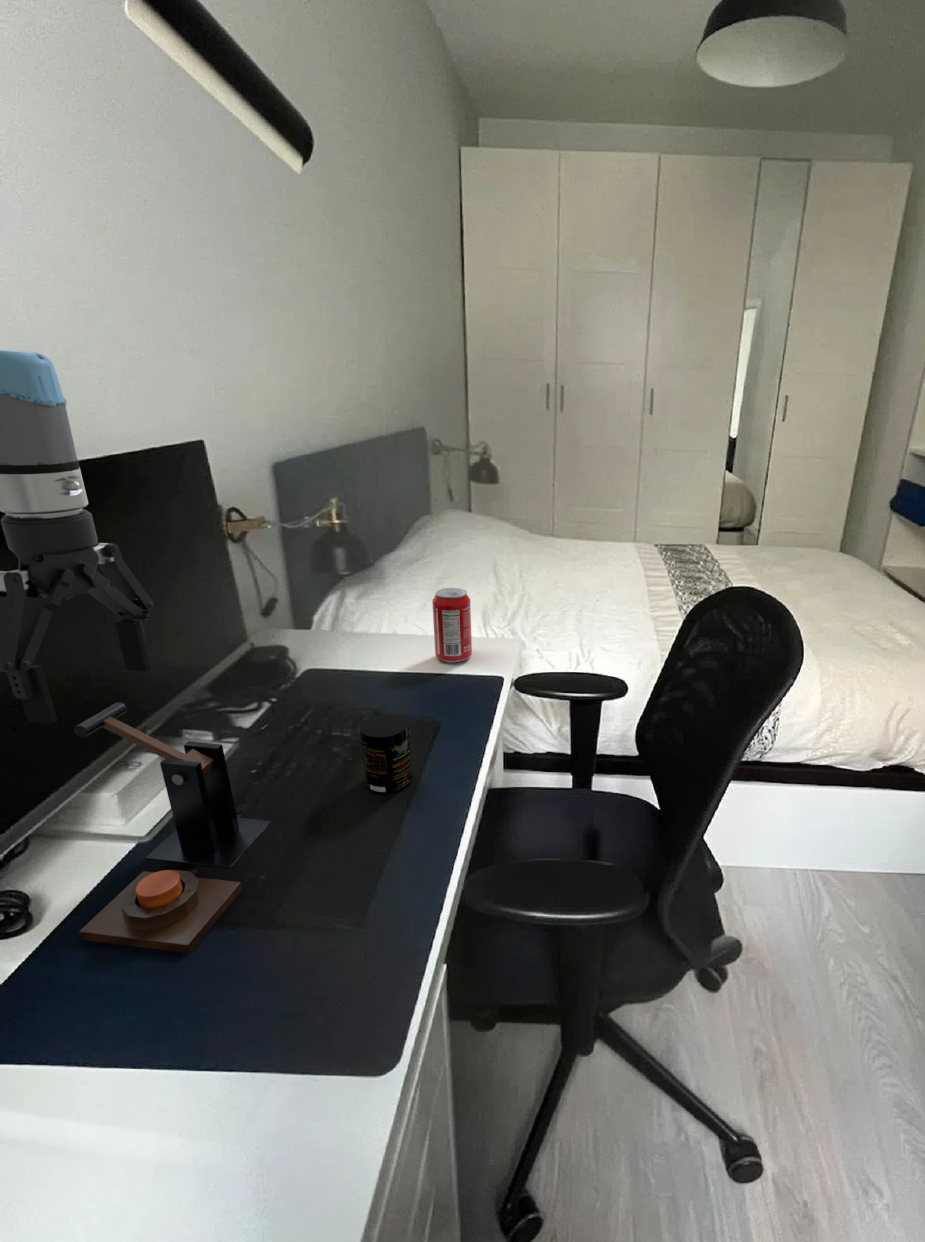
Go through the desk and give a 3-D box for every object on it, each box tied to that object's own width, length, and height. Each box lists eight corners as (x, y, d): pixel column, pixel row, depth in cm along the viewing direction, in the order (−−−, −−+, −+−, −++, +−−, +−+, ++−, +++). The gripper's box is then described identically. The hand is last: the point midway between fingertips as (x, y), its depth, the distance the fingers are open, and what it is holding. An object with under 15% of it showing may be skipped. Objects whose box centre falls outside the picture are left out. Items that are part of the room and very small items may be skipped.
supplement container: (420, 776, 98) (416, 716, 94) (403, 802, 92) (397, 739, 88) (378, 771, 99) (372, 711, 95) (358, 797, 93) (350, 734, 89)
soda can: (446, 668, 135) (443, 600, 129) (428, 656, 141) (425, 590, 135) (478, 659, 140) (477, 593, 134) (460, 648, 145) (458, 584, 140)
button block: (84, 947, 67) (73, 918, 66) (147, 885, 76) (139, 858, 74) (191, 961, 66) (184, 931, 65) (244, 896, 75) (238, 869, 73)
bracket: (146, 865, 79) (119, 769, 73) (195, 819, 87) (175, 730, 82) (231, 875, 78) (210, 778, 72) (273, 828, 86) (257, 738, 81)
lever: (72, 736, 74) (75, 720, 73) (113, 711, 80) (117, 697, 79) (186, 792, 76) (191, 778, 75) (218, 765, 81) (223, 751, 80)
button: (129, 907, 68) (126, 894, 67) (157, 880, 72) (153, 867, 71) (165, 911, 68) (161, 898, 67) (191, 884, 71) (187, 871, 71)
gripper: (-42, 540, 55) (26, 752, 63) (164, 495, 78) (196, 655, 86) (-121, 534, 56) (-43, 744, 64) (107, 491, 79) (143, 650, 87)
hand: (94, 693), depth 75 cm, fingers open, 13 cm apart
